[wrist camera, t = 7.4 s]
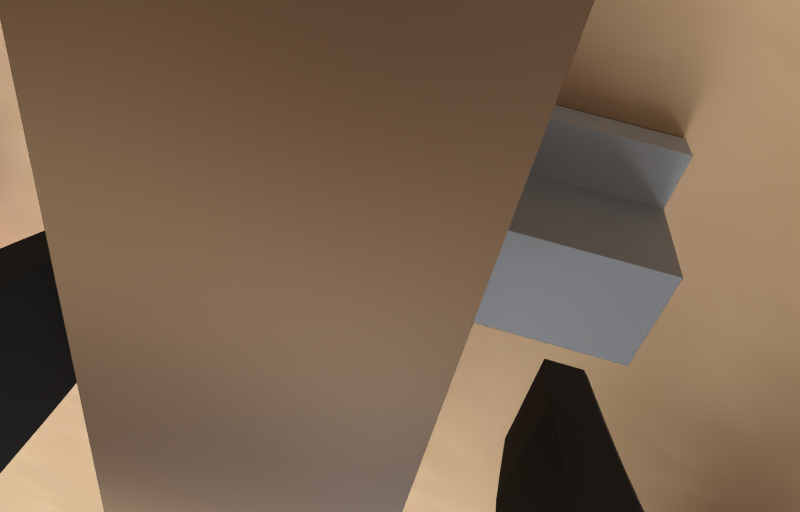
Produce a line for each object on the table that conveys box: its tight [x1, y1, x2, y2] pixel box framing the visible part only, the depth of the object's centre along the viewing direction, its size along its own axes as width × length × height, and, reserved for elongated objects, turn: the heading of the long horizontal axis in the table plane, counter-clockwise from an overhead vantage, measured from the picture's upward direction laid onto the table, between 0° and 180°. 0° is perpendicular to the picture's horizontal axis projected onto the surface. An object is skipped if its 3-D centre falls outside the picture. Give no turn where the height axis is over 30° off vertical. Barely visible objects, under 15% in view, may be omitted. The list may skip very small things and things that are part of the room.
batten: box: [0, 0, 594, 512], centre depth 10 cm, size 14×4×6 cm, turn 169°
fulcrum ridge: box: [473, 105, 693, 366], centre depth 13 cm, size 5×12×3 cm, turn 80°
